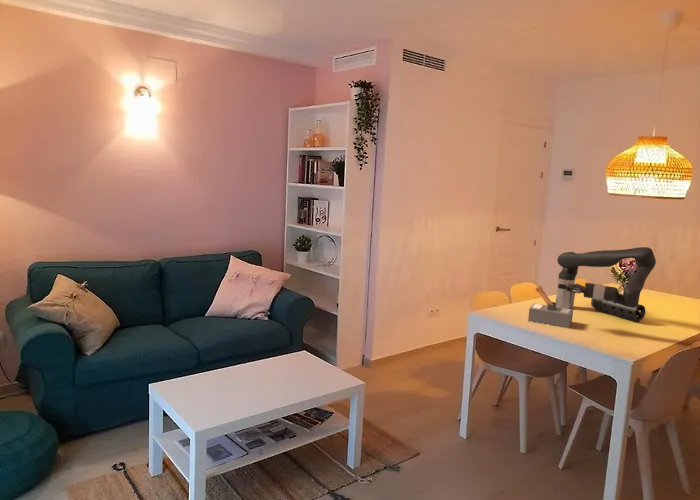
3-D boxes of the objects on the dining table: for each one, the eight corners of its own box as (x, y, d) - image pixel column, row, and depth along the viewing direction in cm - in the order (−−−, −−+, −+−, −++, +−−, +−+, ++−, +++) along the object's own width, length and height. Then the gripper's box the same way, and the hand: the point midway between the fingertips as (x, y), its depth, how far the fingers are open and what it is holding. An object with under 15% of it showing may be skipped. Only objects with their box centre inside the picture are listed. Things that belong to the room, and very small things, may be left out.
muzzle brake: (633, 323, 281) (635, 305, 279) (588, 310, 305) (590, 293, 304) (644, 322, 285) (646, 303, 284) (599, 309, 310) (601, 292, 308)
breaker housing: (528, 321, 275) (529, 302, 273) (533, 315, 287) (534, 298, 285) (568, 328, 265) (570, 309, 264) (571, 322, 277) (573, 304, 276)
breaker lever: (550, 310, 273) (534, 288, 276) (551, 308, 277) (536, 287, 280) (554, 307, 272) (538, 286, 274) (555, 305, 276) (540, 284, 279)
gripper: (592, 301, 258) (555, 295, 266) (594, 295, 269) (559, 290, 277) (594, 286, 256) (557, 281, 265) (596, 281, 268) (561, 276, 276)
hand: (558, 285), depth 271 cm, fingers closed
